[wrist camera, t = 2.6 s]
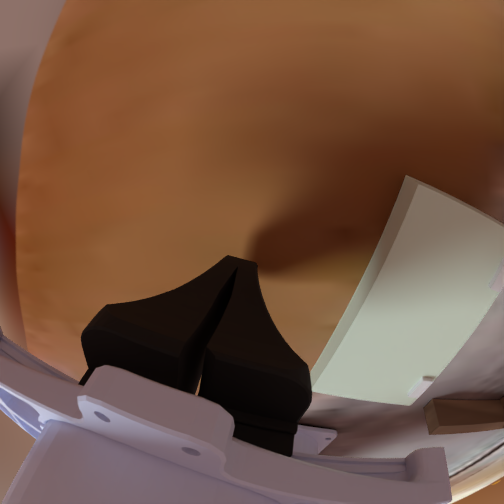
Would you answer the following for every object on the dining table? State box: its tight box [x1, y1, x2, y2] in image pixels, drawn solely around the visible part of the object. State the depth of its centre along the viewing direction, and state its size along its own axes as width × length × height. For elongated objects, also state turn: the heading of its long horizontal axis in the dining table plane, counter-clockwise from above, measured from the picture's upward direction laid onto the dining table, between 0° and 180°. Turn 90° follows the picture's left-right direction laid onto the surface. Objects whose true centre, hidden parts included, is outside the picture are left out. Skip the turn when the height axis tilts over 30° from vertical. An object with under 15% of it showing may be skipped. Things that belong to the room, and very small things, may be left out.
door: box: [311, 175, 504, 406], centre depth 13 cm, size 12×7×2 cm, turn 167°
